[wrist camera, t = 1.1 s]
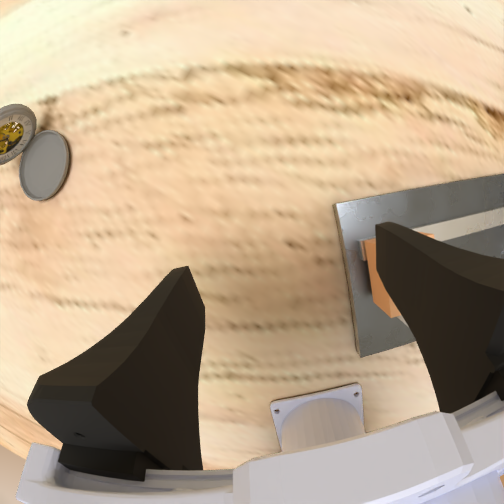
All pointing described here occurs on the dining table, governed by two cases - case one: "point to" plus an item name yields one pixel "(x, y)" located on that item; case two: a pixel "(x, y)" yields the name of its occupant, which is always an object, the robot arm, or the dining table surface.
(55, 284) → the dining table surface
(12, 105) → the pocket watch
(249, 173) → the dining table surface
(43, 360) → the dining table surface
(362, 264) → the bolt plate
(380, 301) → the orange block
